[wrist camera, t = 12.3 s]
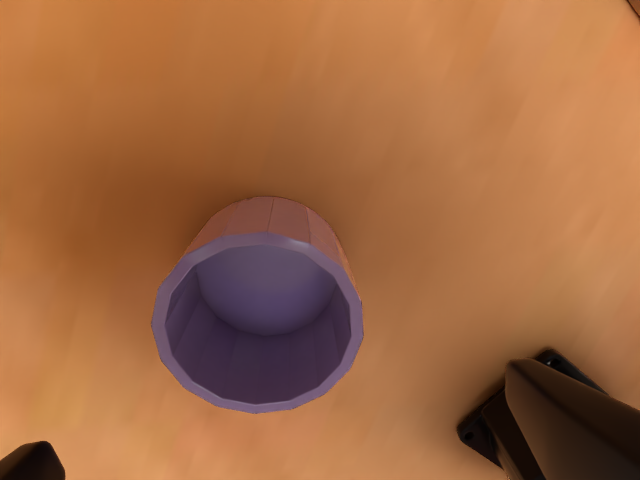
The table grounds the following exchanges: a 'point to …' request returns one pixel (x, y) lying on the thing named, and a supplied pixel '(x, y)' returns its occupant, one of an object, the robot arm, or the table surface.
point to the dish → (260, 308)
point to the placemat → (635, 5)
